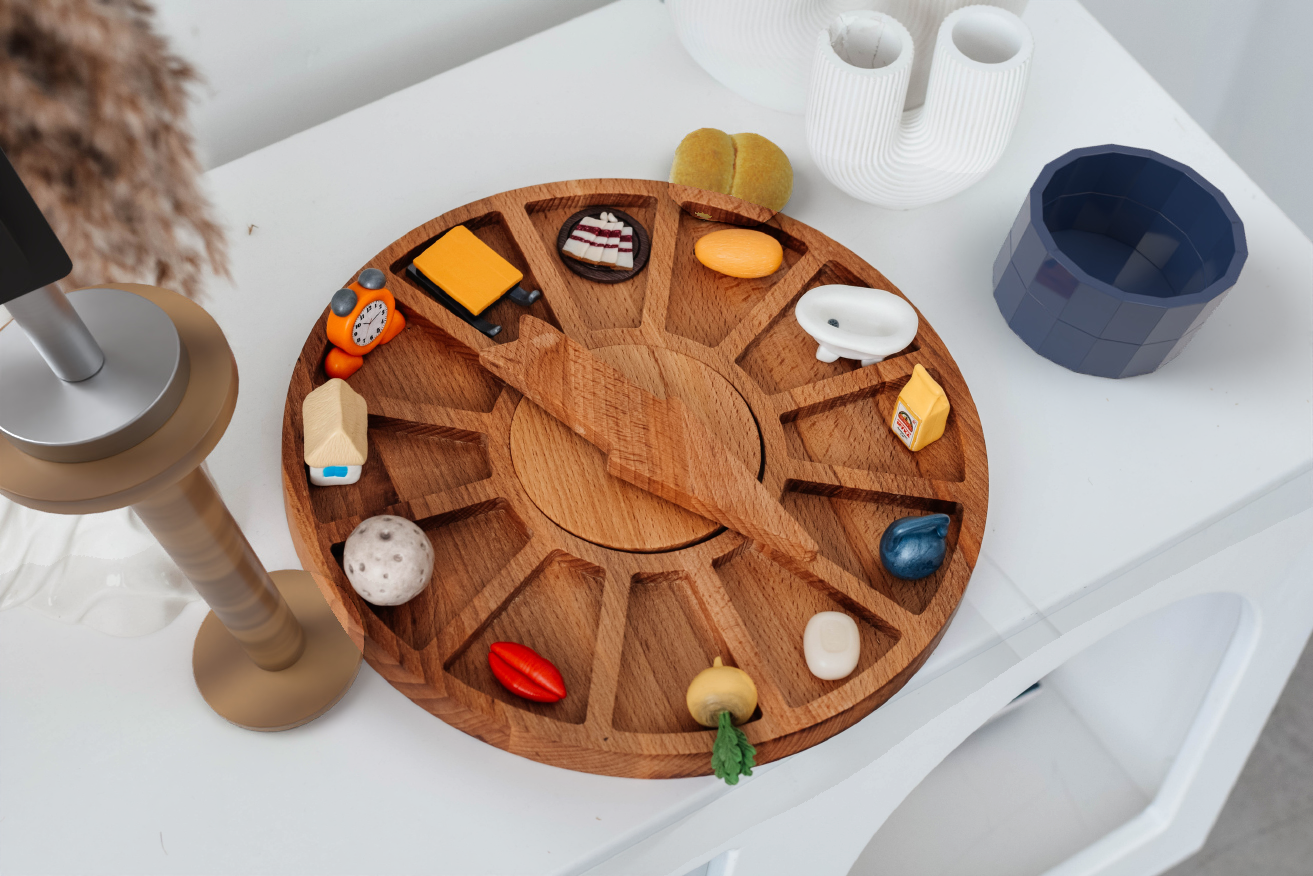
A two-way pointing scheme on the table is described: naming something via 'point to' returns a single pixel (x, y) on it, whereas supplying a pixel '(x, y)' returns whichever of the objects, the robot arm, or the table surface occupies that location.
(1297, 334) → the table surface
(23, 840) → the table surface
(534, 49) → the table surface
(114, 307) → the masher
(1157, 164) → the pot
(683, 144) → the bread roll
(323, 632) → the cake stand
